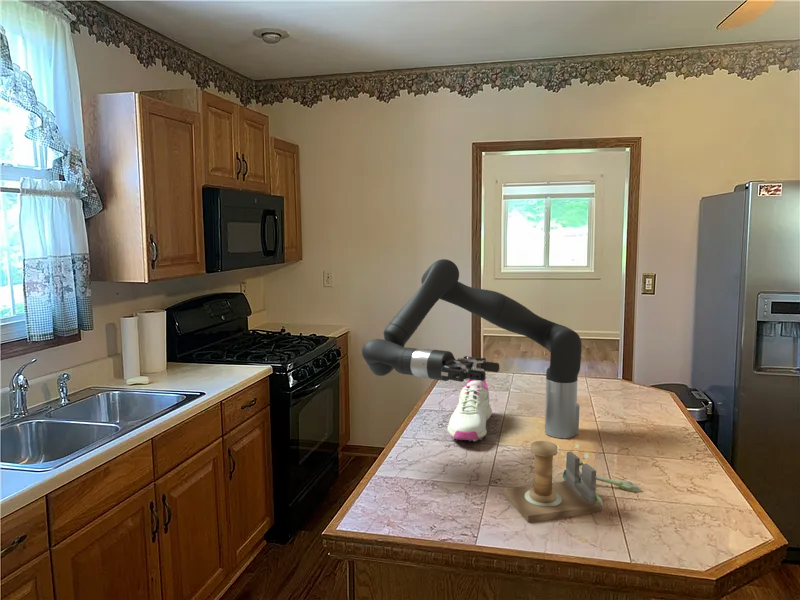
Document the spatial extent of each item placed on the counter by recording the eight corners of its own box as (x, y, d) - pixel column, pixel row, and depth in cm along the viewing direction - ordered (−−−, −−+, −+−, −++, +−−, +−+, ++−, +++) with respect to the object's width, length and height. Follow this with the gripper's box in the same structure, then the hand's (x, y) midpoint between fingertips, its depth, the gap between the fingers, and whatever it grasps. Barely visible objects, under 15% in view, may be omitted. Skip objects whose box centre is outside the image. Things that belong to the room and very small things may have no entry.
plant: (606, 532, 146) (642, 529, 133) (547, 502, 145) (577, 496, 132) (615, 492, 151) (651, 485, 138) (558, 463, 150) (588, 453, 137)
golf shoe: (442, 448, 167) (442, 398, 165) (456, 411, 199) (456, 369, 197) (485, 452, 164) (485, 401, 162) (492, 413, 196) (493, 370, 194)
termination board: (571, 486, 143) (572, 449, 142) (600, 511, 130) (602, 472, 129) (503, 495, 139) (504, 457, 137) (527, 522, 126) (528, 481, 125)
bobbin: (548, 489, 137) (549, 439, 136) (560, 501, 132) (562, 449, 130) (525, 492, 136) (526, 442, 134) (536, 504, 130) (538, 452, 128)
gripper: (418, 355, 140) (480, 363, 131) (445, 344, 152) (503, 350, 144) (419, 385, 141) (480, 395, 133) (445, 371, 153) (503, 379, 145)
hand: (492, 371), depth 138 cm, fingers open, 8 cm apart
